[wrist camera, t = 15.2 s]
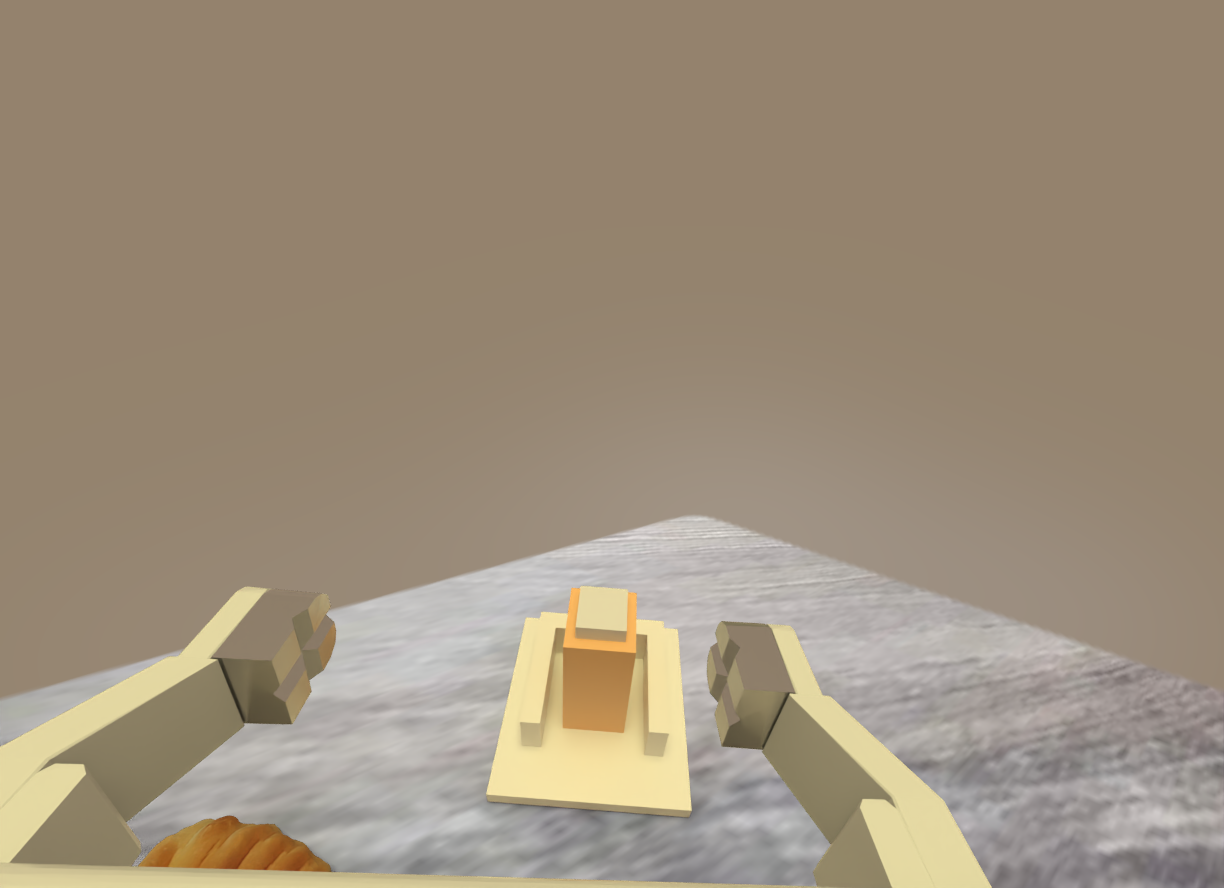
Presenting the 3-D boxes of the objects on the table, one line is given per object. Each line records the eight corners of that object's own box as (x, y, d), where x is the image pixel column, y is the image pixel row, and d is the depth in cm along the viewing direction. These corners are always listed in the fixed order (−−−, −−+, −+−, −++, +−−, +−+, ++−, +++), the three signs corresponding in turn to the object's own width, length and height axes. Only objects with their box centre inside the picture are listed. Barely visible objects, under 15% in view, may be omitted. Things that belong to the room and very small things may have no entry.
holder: (487, 801, 28) (481, 771, 26) (526, 625, 38) (524, 592, 36) (688, 817, 28) (700, 789, 26) (675, 636, 38) (683, 605, 36)
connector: (562, 727, 31) (563, 636, 26) (569, 669, 35) (571, 577, 29) (623, 733, 31) (637, 642, 26) (625, 674, 34) (638, 582, 29)
